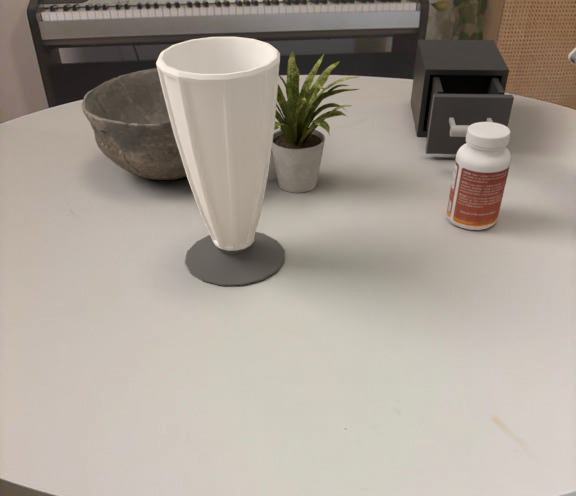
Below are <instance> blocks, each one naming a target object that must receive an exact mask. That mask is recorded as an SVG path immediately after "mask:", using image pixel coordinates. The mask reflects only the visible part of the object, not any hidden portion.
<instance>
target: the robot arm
mask: <svg viewBox="0 0 576 496" xmlns="http://www.w3.org/2000/svg"><path fill="white" fill-rule="evenodd" d="M567 59H568V61H569V63H570V64H571V65H572V66H573V67H575V68H576V46H575V47H574V48H573V49H572V50H571V51H570V52H569V53H568V55H567Z"/></svg>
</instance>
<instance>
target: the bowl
mask: <svg viewBox="0 0 576 496" xmlns="http://www.w3.org/2000/svg"><path fill="white" fill-rule="evenodd" d="M81 108H82V112H83V114H84V116H85V117H86V119H87V121H88V122H89V124H90V126H91V128H92V130H93V134H94V140H95V142H96V143H95V144H96V145H97V147H98V149H99V150H100V151H101V152H102V154H104V155H105V157H107V159H109V160H110V161H111V162H112V163H114V164H115V165H116V166H118V167H120V168H121V169H123V170H124V171H127V172H129V173H130V174H132V175H134V176H135V175H136V176H138V177H141V178H145V179H149V180H155V181H164V180H165V181H166V180H167V181H169V180H177V179H178V180H179V179H182V178H183V179H184V178H187V175H186V172H185V169H184V165H183V162H182V159H181V156H180V152H179V149H178V146H177V143H176V140H175V136H174V133H173V129H172V125H171V122H170V118H169V114H168V110H167V106H166V102H165V98H164V95H163V90H162V86H161V82H160V78H159V74H158V69H157V67H154V68H148V69H142V70H137V71H134V72H129V73H126V74H121V75H118V76H117V77H113V78H111V79H108V80H106V81H104V82H102V83H101V84H99V85H97V86H96V87H94V88H92V89H91V90H89V91H87V93H85V95H84V96H83V100H82V102H81Z"/></svg>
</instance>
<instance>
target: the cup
mask: <svg viewBox="0 0 576 496" xmlns="http://www.w3.org/2000/svg"><path fill="white" fill-rule="evenodd" d="M280 63H281V53H280V51H279V50H278V49H277V48H275V46H274V45H271V44H270V43H269V42H266V41H262V40H258V39H256V38H249V37H242V36H208V37H201V38H194V39H188V40H184V41H182V42H178V43H175V44H171V46H168V47H166V48H165V49H163V50H162V51H161V52H160V54H159V55H158V57H157V60H156V62H155V65H156V68H157V69H158V74H159V78H160V82H161V86H162V90H163V95H164V98H165V102H166V106H167V110H168V114H169V118H170V122H171V125H172V129H173V133H174V136H175V140H176V143H177V146H178V149H179V152H180V156H181V159H182V162H183V165H184V169H185V172H186V175H187V176H186V178H187V181H188V184H189V186H190V189H191V192H192V195H193V197H194V198H193V199H194V201H195V203H196V206H197V209H198V212H199V214H200V216H201V219H202V221H203V223H204V225H205V227H206V229H207V232H208V234H209V235H207V236H204V237H203V238H200V239H198V240H197V241H196V242H194V244H192V246H191V247H190V248H189V249H188V250H187V251H186V254H185V260H184V264H185V265H186V267H187V270H188V271H189V273H190V274H191V275H192V276H194V277H196V278H197V279H199V280H201V281H202V282H204V283H208V284H212V285H216V286H220V285H221V286H220V287H235V286H234V285H240V286H239V287H242V286H248V285H251V284H255V283H258V282H262V281H264V280H266V279H267V278H270V277H271V276H273V275H274V274H277V272H278V271H279V269H281V267H282V265H283V264H284V262H285V249H284V248H283V246H282V245H281V244H280V242H279V241H278V240H277V239H275V238H273V237H271V236H270V235H267V234H265V233H263V232H258V231H257V228H258V224H259V222H260V217H261V213H262V210H263V204H264V199H265V194H266V187H267V183H268V176H269V169H270V163H271V156H272V155H271V154H272V141H273V133H274V132H275V130H274V126H275V121H276V118H275V114H276V110H277V107H276V104H277V103H278V101H277V90H278V84H279V75H280V73H279V72H280Z"/></svg>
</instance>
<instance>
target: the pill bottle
mask: <svg viewBox="0 0 576 496" xmlns="http://www.w3.org/2000/svg"><path fill="white" fill-rule="evenodd" d="M510 137H511V129H510V128H509V127H506V126H504V125H502V124H499V123H494V122H478V123H474V124H471V125H470V126H469V127H468V130H467V134H466V144H464V145H463V146H461V147H460V148H459V150H458V152H457V154H455V159H454V166H453V173H452V177H451V185H450V190H449V195H448V202H447V207H446V208H447V209H446V217H447V220H448V221H449V222H450V223H451V224H452V225H454V226H456V227H458V228H460V229H465V230H471V231H482V230H486V229H488V228H492V227H493V226H494V225H495V224H496V223H497V221H498V219H499V215H500V212H501V211H500V210H501V206H502V201H503V198H504V193H505V188H506V183H507V179H508V175H509V171H510V167H511V162H512V155H511V152H510V150H509V149H508V148H507V146H508V144H509V142H510Z"/></svg>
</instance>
